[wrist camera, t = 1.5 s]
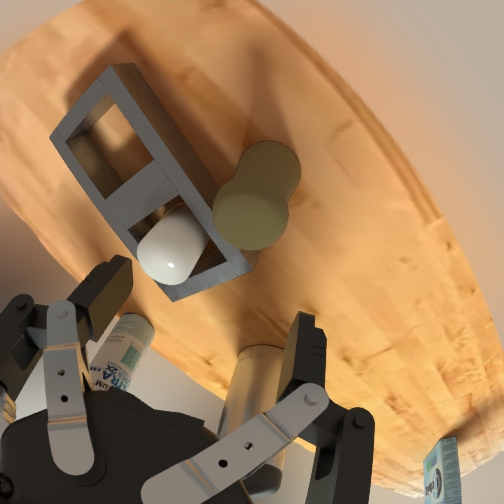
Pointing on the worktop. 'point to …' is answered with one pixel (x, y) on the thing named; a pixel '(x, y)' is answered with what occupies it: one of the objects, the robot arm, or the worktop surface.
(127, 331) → the spray paint can
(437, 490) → the gum box
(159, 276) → the salt cellar
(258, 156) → the cork
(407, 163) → the worktop surface
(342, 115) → the worktop surface
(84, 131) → the cinder block
